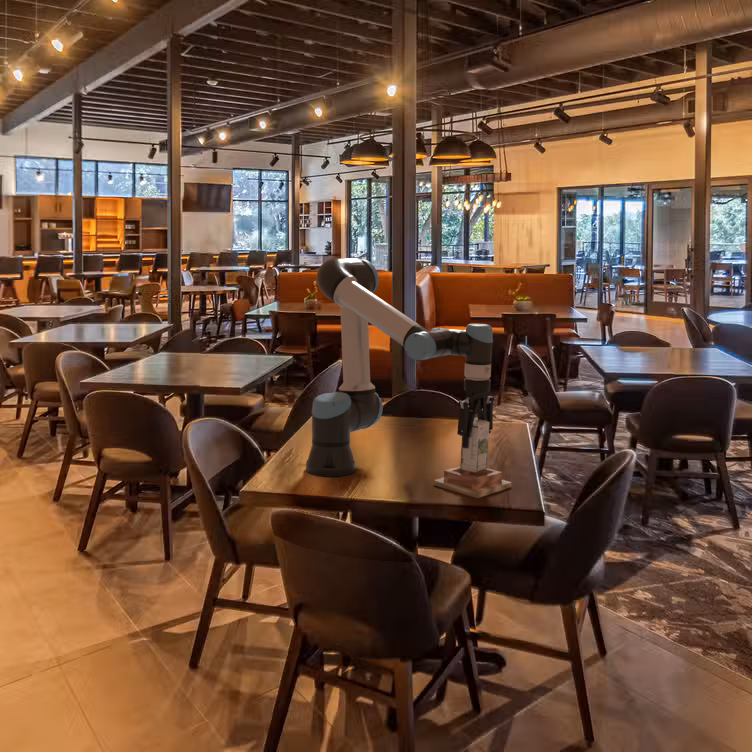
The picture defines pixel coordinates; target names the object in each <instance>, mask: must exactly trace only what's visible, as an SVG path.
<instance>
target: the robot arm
mask: <svg viewBox="0 0 752 752" xmlns="http://www.w3.org/2000/svg"><path fill="white" fill-rule="evenodd" d="M315 278H316V284H317V287H318V289H319V291H320V292H321V293H322V294H323V295H324V297H326V298H327V299H329V301H331V302H333V303H334V304H336V305H338V307H339V308H340V329H341V331H340V332H341V353H342V354H341V355H342V381H343V382H342V383H341V385H340V387H338V391H335V392H334V391H332V392H330V393H329V392H325V393H321V394H319V395H317V396H316V397H315V398H314V399H313V401H312V408H311V415H312V416H311V420H312V421H311V447H310V448H311V449H310V451H309V454H308V457H307V460H306V462H305V471H306V472H307V473H309V474H311V475H314V476H320V477H342V476H348V475H351V474H353V473H354V472H355V471H356V463H355V460H354V456H353V453H352V448H351V433H353V432H355V431H356V432H357V431H359V430H366V429H368V428H370V427H371V426H374V425H376V423H378V421H379V420H380V419H381V417H382V414H383V411H384V410H383V401H382V398H381V397H379V394H378V393H377V392H376V386H375V385H374V384H373V383H372V382H371V369H370V368H371V367H370V340H369V337H370V336H369V333H370V332H369V331H370V330H369V324H370V325H372V326H374V327H375V328H376V329H378V330H379V331H381V332H382V333H384V334H385V335H387V336H388V337H389V338H391V339H393V340H394V341H396V342H397V343H398V344H400V345H401V346H402V347H404V350H405V352H406V354H407V356H408V357H409V358H411V359H413V360H415V361H425V360H429V359H430V360H431V359H432V358H438V357H444V356H448V355H449V356H457V357H458V356H460V357H464V373H463V374H464V377H465V378H464V379H463V390H464V391H465V393H466V395H465V399H464V400H459V401H458V404H457V405H458V409H459V410H458V421H457V431H456V432H457V435H458V436H460V437H461V446H462V447H463V454H462V458H465V459H469V460H470V459H471V455H472V437H470V435H471V431H472V427H473V422H474V419H476V418H475V417H476V415H477V419H481V420H484V421H488V422H490V423H489V435H490V434H491V433H492V430H493V428H494V426H493V425H494V421H493V420H494V416H493V414H494V410H493V409H494V402H495V401H494V400H495V397H494V396H490V395H488V393H490V391H491V382H492V381H491V379H490V378H491V376H492V375H491V374H492V357H493V355H492V354H493V343H494V339H493V335H494V334H493V327H492V326H491V325H490V324H486V323H469V324H467V325H466V327H465V329H454V328H447V327H446V328H445V327H433V328H431V329H430V330H428V329H426V328H425V327H424V326H422V325H420V324H419V323H417V322H416V321H415V320H413V319H412V318H411V317H408V316H407V315H405V314H404V313H403V312H401V311H400V310H398V309H396V308H395V307H394V306H393V305H391V304H389V303H388V302H386V301H384V299H382V298H380V297H379V296H377V295H376V294H375V293H374V292H375V291H376V289H377V288H378V286H379V273H378V271H377V269H376V267H375V265H373V264H372V262H370V261H369V260H367V259H363V258H359V257H351V258H349V257H347V258H346V257H343V258H340V257H339V258H336V257H334V258H330V259H327V260H326V261H324V262H322V264H321V265H320V266H319V268H318V270H317V272H316V277H315Z"/></svg>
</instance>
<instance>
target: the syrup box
mask: <svg viewBox="0 0 752 752" xmlns="http://www.w3.org/2000/svg"><path fill="white" fill-rule="evenodd" d="M489 423H490V422H488V421H484V420H481V419H478V418H474V422H473V427H472V431H471V435H470V437H472V455H471V459H470V460H469V459H465V458H462V454H463V447H462V445H461V450H460V465H459V466H460V469H462V470H466V471H471V472H476V473H477V472H479V471H482V470H485V469H487V468H488V455H489V454H488V453H489V439H490V437H489V435H490V434H489Z"/></svg>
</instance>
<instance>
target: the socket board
mask: <svg viewBox="0 0 752 752" xmlns="http://www.w3.org/2000/svg"><path fill="white" fill-rule="evenodd" d="M433 486H434V487H435V486H436V487H439V488H442V489H445V490H449V491H452V492H455V493H457V494H461V495H465V496H468V497H471V498H475V499H479V498H482V497H485V496H488V495H492V494H495V493H498V492H501V491H504V490H507V489H510V488H512V481H508V480H505V479H503V472H502V471H500V470H496V469H493V468H488V467H487V469H485V470H482V471H479V472H477V473H476V472H471V471H466V470H462V469H460V465H459V466H455V467H453V468H452V467H451V468H448V469H445V470H443V477H440V478H436V479H434V480H433Z"/></svg>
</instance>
